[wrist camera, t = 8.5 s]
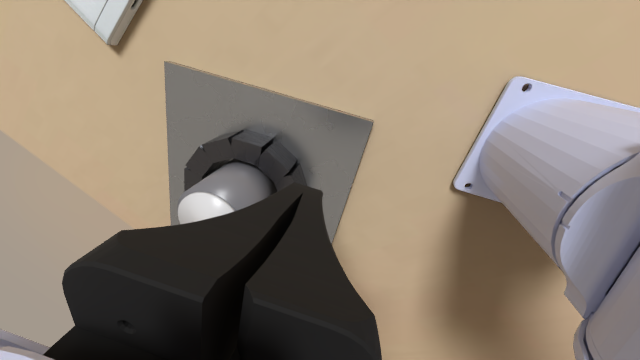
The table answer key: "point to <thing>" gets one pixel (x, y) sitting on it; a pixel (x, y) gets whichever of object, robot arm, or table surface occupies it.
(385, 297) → the table surface
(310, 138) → the flat grey square plate
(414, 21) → the table surface
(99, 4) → the hard drive
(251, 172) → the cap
